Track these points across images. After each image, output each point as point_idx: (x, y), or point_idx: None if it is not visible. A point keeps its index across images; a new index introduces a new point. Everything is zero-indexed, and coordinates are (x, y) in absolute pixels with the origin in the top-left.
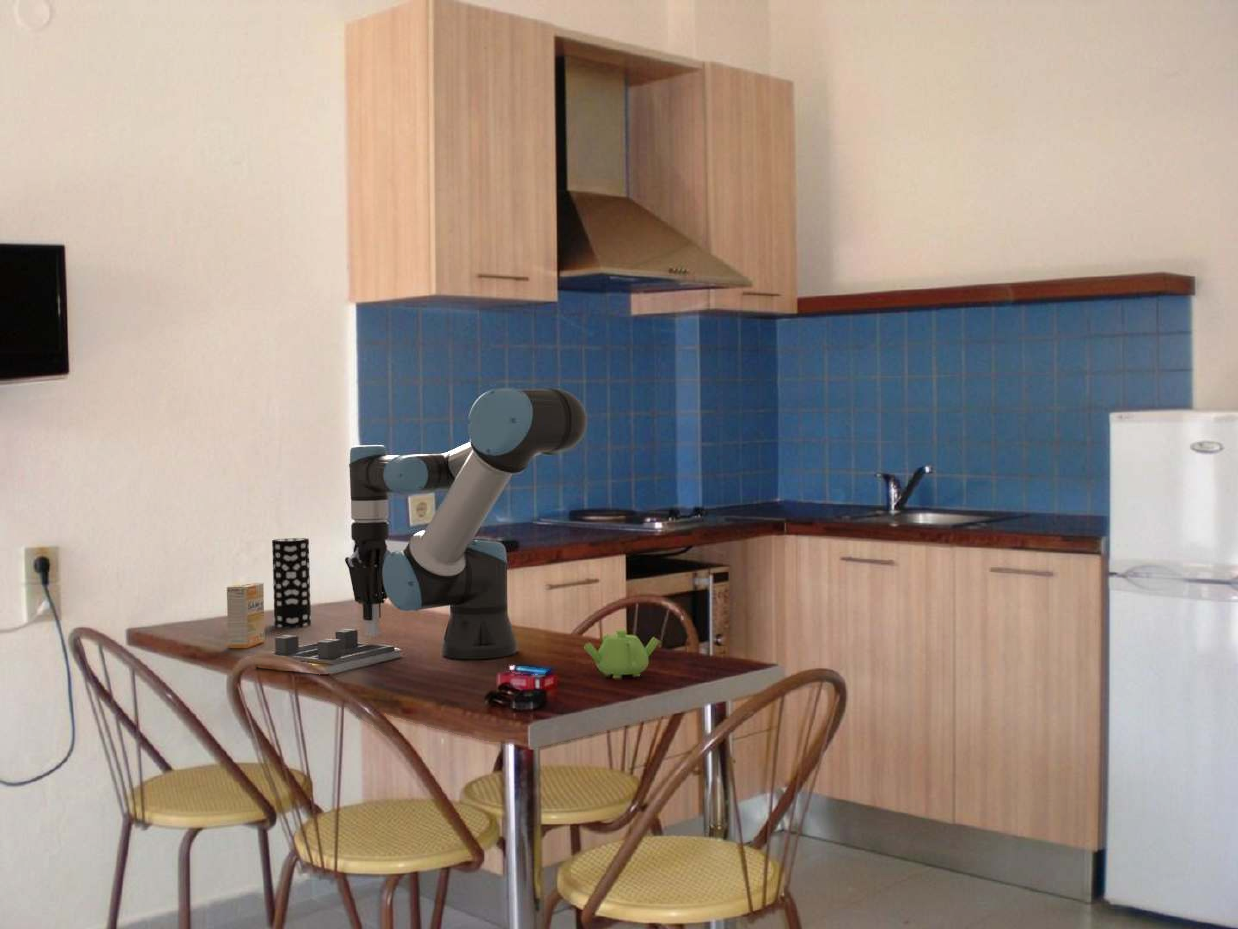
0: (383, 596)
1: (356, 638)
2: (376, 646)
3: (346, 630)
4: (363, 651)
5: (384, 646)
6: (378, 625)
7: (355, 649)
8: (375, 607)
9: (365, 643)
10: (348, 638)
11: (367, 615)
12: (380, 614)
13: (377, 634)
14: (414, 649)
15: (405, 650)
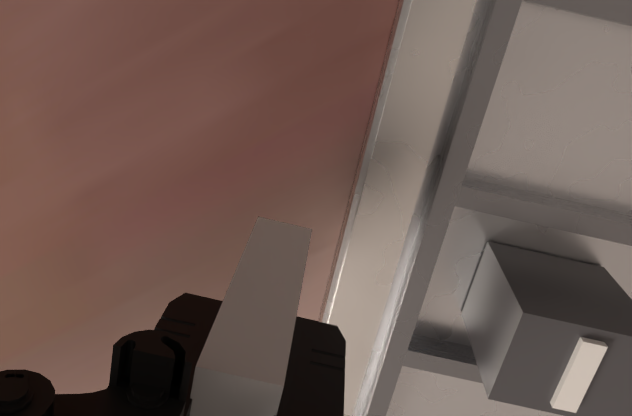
0: (48, 414)
1: (518, 281)
2: (481, 120)
3: (592, 369)
4: (541, 178)
5: (505, 43)
6: (258, 253)
7: (603, 215)
8: (268, 360)
9: (423, 234)
10: (609, 307)
11: (343, 365)
12: (169, 309)
13: (281, 227)
14: (105, 3)
15: (160, 47)
